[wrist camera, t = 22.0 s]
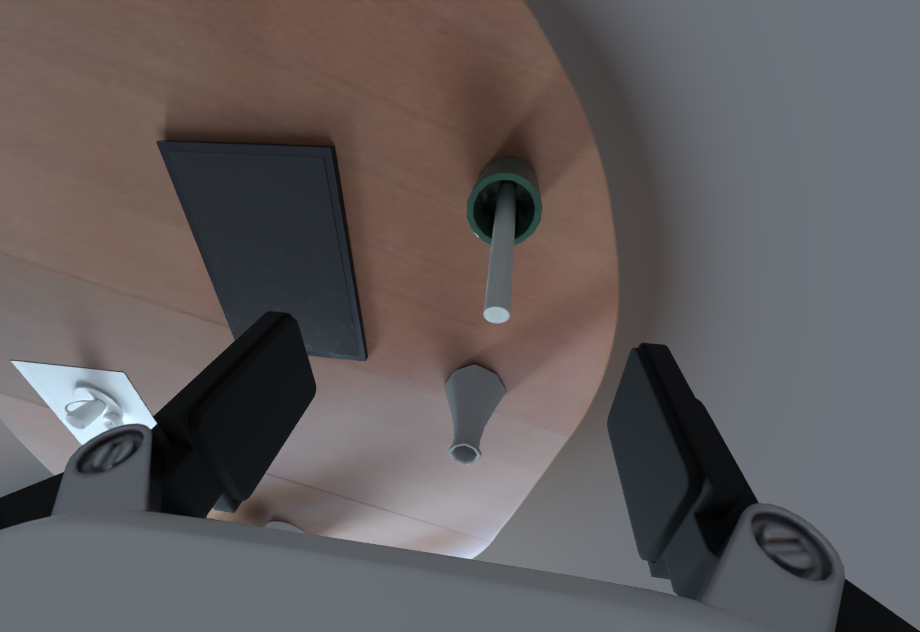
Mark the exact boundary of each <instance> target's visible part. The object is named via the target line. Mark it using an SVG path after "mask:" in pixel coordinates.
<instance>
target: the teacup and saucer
mask: <svg viewBox="0 0 920 632" xmlns="http://www.w3.org/2000/svg"><path fill="white" fill-rule="evenodd" d="M72 397H73V399H74V401H71V402H69V403H67V404H66V405H65V406H64V412H65V413H67V414H66V415H65V416H64V420H65V422H66V423H67V424H68V425H70V426H71V427H73V428H75V429H77V430H85V429H86V428H88V427H89V426H90V425H91V424H92V423H93V422H95V421H96V420H97V419H98V420H100V422H101V424H102V426H103V427H104V428H105V429H106V430H110V429H112V428H114V427H118V426H122V425H125V422H124V417H125V415H124V411H123V409H122V408H121V407H120V405H119V404H118V403H117V402H116V401H115V400H114V399H113V398H111V397H110V396H109V395H107V394H106V393H104V392H102V391H100V390H98V389H95V388H93V387H89V386H77V387H75V388H74V389H73V390H72ZM73 404H77V405H78V407H76V408H75V409H73V410H69V409H68V407H69V406H70V405H73Z"/></svg>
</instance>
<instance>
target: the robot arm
mask: <svg viewBox="0 0 920 632" xmlns="http://www.w3.org/2000/svg"><path fill="white" fill-rule="evenodd" d="M315 393H316V383H315V380H314V376H313V373H312V369H311V366H310V362H309V359H308V355H307V352H306V348H305V345H304V342H303V338H302V335H301V331H300V328H299V324H298V321H297V320H296V319H295V318H293V317H292V315H291V314H290V313H287V312H276V311H267V312H266V313H264V314H263V315H262V316H261V317H260V318H259V319H258V320H257V321H256V322H255V323H254V324H253V325H252V326H250V327H249V328H248V329H247V330H246V331H245V332H244V333H243V334H242V335H241V336H240V337H239V338H237V339H236V340H235V341H234V342H233V343H232V344H231V345H230V346H229V347H228V348H227V349H226V350H225V351H223V352H222V353H221V354H220V355H219V356H218V357H217V358H216V359H215V360H214V361H213V362H212V363H211V364H209V365H208V366H207V367H206V368H205V369H204V370H203V371H202V372H201V373H200V374H199V375H198V376H196V377H195V378H194V379H193V380H192V381H191V382H190V383H189V384H188V385H187V386H186V387H185V388H184V389H182V390H181V391H180V392H179V393H178V394H177V395H176V396H175V397H174V398H173V399H172V400H171V401H169V402H168V403H167V404H166V405H165V406H164V407H163V408H162V409H161V410H160V411H159V412H158V413H157V414H155V415H154V416H153V418H154V420H155V421H156V423H157V424H156V425H155V426H154V427H153V428H152V429H150V428H149V427H148V426H146V425H143V424H138V423H136V424H126V425H122V426H118V427H114V428H112V429H110V430H107V431H105V432H102V433H101V434H99V435H97V436H95V437H94V438H92V439H90V440H89V441H88V442H86V443H85V444H84V445H82V446H81V447H80V448H79V449H78V450H77V451H76V452H75V453H74V454H73V455H72V456H71V457H70V459H69V461H68V463H67V465H66V468H65V471H64V472H63V473H60V474H58V475H55V476H53V477H51V478H48V479H46V480H43V481H41V482H38V483H36V484H33V485H31V486H28V487H26V488H23V489H21V490H18V491H16V492H13V493H11V494H8V495H6V496H3V497H1V498H0V632H920V631H919V630H917V629H916V628H914V627H913V626H912V625H910V624H909V623H907V622H906V621H904V620H903V619H902V618H900V617H899V616H897V615H896V614H894V613H893V612H892V611H890V610H889V609H887V608H886V607H885V606H883V605H882V604H880V603H879V602H878V601H876V600H875V599H873V598H872V597H870V596H869V595H867V594H866V593H865V592H863V591H862V590H860V589H859V588H858V587H856V586H855V585H853V584H852V583H851V582H849V581H848V580H846V579H845V576H844V566H843V564H842V562H841V559H840V557H839V555H838V553H837V551H836V550H835V549H834V547H833V546H832V545H831V543H830V542H829V541H828V539H827V538H826V537H824V535H822V534H821V533H820V532H819V531H818V530H817V529H816V528H815V527H814V526H813V525H811V524H810V523H808V522H807V521H806V520H804V519H803V518H802V517H800V516H799V515H797V514H794V513H792V512H791V511H789V510H787V509H785V508H782V507H778V506H775V505H772V504H762V503H758V501H757V499H756V497H755V495H754V494H753V492H752V490H751V488H750V486H749V485H748V483H747V481H746V479H745V478H744V476H743V474H742V472H741V470H740V469H739V467H738V465H737V463H736V461H735V460H734V458H733V456H732V454H731V453H730V451H729V449H728V447H727V445H726V444H725V442H724V440H723V438H722V436H721V435H720V433H719V431H718V429H717V428H716V426H715V424H714V422H713V420H712V419H711V417H710V415H709V413H708V412H707V410H706V408H705V406H704V405H703V404H702V402H701V401H699V400H698V399H696V398H695V396H694V394H693V393H692V390H691V389H690V387H689V385H688V383H687V381H686V380H685V378H684V376H683V374H682V372H681V370H680V369H679V367H678V365H677V363H676V361H675V360H674V358H673V356H672V354H671V352H670V350H669V349H668V347H667V346H666V345H660V344H648V343H641V344H640V345H639V347H638V348H632V350H631V351H630V354H629V357H628V360H627V363H626V366H625V369H624V372H623V375H622V378H621V381H620V384H619V387H618V390H617V393H616V396H615V399H614V401H613V404H612V407H611V410H610V413H609V416H608V422H607V423H608V424H607V426H608V433H609V437H610V440H611V445H612V449H613V453H614V457H615V461H616V465H617V468H618V473H619V477H620V481H621V485H622V489H623V493H624V497H625V501H626V505H627V509H628V513H629V517H630V521H631V525H632V529H633V533H634V537H635V541H636V545H637V549H638V552H639V555H640V557H641V559H642V560H647V561H648V565H649V568H650V572H651V576H652V577H657V578H664V579H670V580H671V583H672V587H673V590H674V592H675V593H676V594H677V595H678V596H675V595H671V594H667V593H662V592H658V591H654V590H649V589H643V588H637V587H632V586H627V585H621V584H615V583H610V582H604V581H599V580H593V579H587V578H582V577H576V576H571V575H565V574H558V573H552V572H546V571H540V570H533V569H527V568H521V567H515V566H509V565H502V564H496V563H490V562H484V561H477V560H472V559H465V558H459V557H453V556H447V555H440V554H434V553H427V552H421V551H415V550H408V549H402V548H395V547H389V546H383V545H376V544H370V543H363V542H357V541H350V540H344V539H338V538H331V537H325V536H318V535H312V534H305V533H298V532H292V531H285V530H278V529H272V528H265V527H258V526H252V525H245V524H238V523H232V522H225V521H218V520H211V519H207V514H208V513H209V512H210V510H211V509H212V507H213V508H214V509H215V510H218V511H225V512H232V513H235V511H236V510H237V508H238V507H239V505H240V504H241V502H242V501H244V500H247V499H248V498H249V497H250V496H251V494H252V493H253V491H254V490H255V488H256V487H257V485H258V484H259V482H260V480H261V479H262V477H263V476H264V474H265V473H266V471H267V470H268V468H269V466H270V465H271V463H272V462H273V460H274V459H275V457H276V456H277V454H278V452H279V451H280V449H281V448H282V446H283V445H284V443H285V442H286V440H287V438H288V437H289V435H290V434H291V432H292V431H293V429H294V428H295V426H296V424H297V423H298V421H299V420H300V418H301V417H302V415H303V414H304V412H305V410H306V409H307V407H308V406H309V404H310V403H311V401H312V400H313V398H314V396H315Z"/></svg>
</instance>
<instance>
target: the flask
mask: <svg viewBox="0 0 920 632" xmlns="http://www.w3.org/2000/svg"><path fill="white" fill-rule="evenodd" d="M444 386H445V390H446V394H447V397H448V401H449V405H450V409H451V414H452V418H453V423H454V440H453V445H452V446H451V447H450V448H449V450H448V453H449V454H450V456H451V457H452V458H453V460H455V461H457V462H459V463H462V464H464V465H466V464H471V463H476V461H477V460H478V459H479V458H480V457H481V451H480V450H479V445H480V439H481V436H482V433H483V430H484V427H485V425H486V424H487V422H488V420H489V418H490V417H491V415H492V413H493V411H494V410H495V408H496V406H497V405H498V403H499V402H500V400H501V399H502V397H503V395H504V394H505V392H506V390H505V388H504V387H503V385H502V383H501V381H500V380H499V378H498V376H497V374H495V373H493V372H491V371H489V370H486V369H484V368H482V367H480V366H478V365H476V364H474V365H471V366H468V367H464V368H461V369H458V370H455V371H454V372H453V373H452V375H451V376H450V378H449V379H448V381H447V382H446V384H445V385H444Z"/></svg>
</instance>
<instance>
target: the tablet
mask: <svg viewBox="0 0 920 632" xmlns="http://www.w3.org/2000/svg"><path fill="white" fill-rule="evenodd" d="M156 142H157V145H158V147H159V150H160V152H161V155H162V157H163V160H164V162H165V165H166V167H167V170H168V172H169V175H170V177H171V180H172V182H173V185H174V188H175V190H176V193H177V195H178V198H179V200H180V203H181V205H182V208H183V210H184V213H185V215H186V218H187V220H188V223H189V225H190V228H191V231H192V233H193V236H194V238H195V241H196V243H197V246H198V248H199V251H200V253H201V256H202V258H203V261H204V263H205V266H206V268H207V271H208V274H209V276H210V279H211V281H212V284H213V286H214V289H215V291H216V294H217V296H218V299H219V301H220V304H221V306H222V309H223V311H224V314H225V317H226V319H227V322H228V324H229V327H230V329H231V332H232V334H233V337H234V339H235V340H236V339H237V338H239V337H240V336H241V335H242V334H243V333H244V332H245V331H246V330H247V329H248V328H249V327H250V326H252V325H253V324H254V323H255V322H256V321H257V320H258V319H259V318H260V317H261V316H262V315H263V314H264V313H266V312H267V311H276V312H287V313H290V314H291V315H292V317H293V318H295V319H296V320H297V321H298V324H299V328H300V331H301V335H302V338H303V342H304V345H305V348H306V352H307V355H310V356H319V357H329V358H338V359H348V360H357V361H366V360H367V358H368V354H367V348H366V341H365V335H364V329H363V322H362V316H361V310H360V303H359V297H358V290H357V284H356V278H355V271H354V265H353V259H352V252H351V246H350V240H349V233H348V227H347V221H346V214H345V208H344V202H343V195H342V189H341V183H340V176H339V170H338V163H337V157H336V151H335V146H317V145H288V144H260V143H232V142H204V141H176V140H161V141H156Z"/></svg>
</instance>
